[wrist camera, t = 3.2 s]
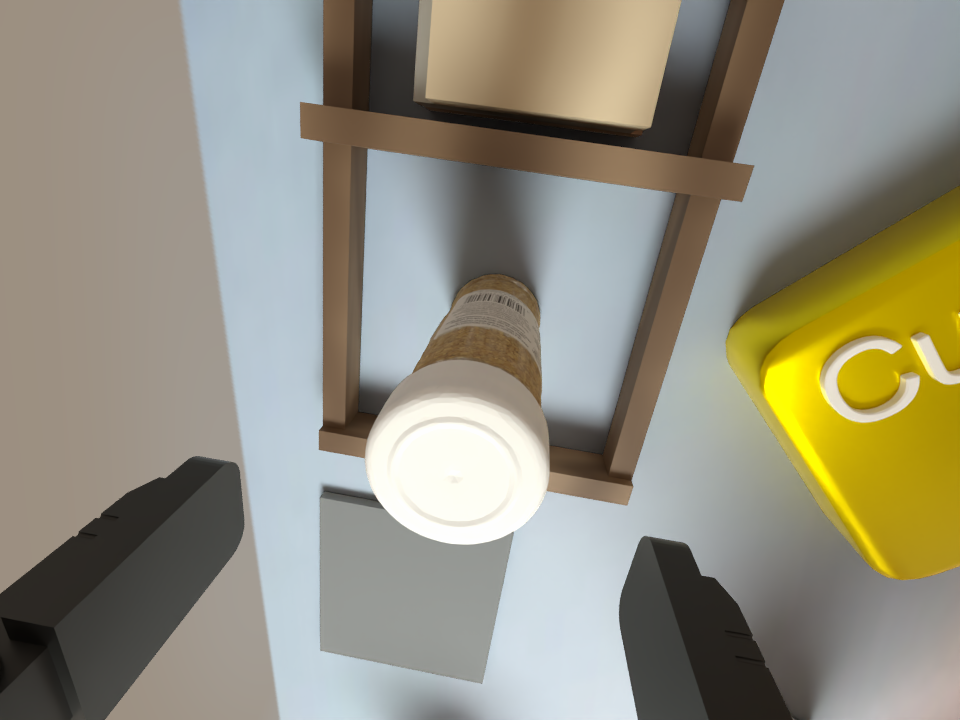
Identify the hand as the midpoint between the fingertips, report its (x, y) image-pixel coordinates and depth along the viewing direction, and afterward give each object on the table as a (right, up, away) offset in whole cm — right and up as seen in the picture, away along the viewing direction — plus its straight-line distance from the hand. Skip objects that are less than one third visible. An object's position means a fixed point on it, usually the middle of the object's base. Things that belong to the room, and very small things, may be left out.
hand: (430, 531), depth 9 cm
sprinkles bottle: (+2, +6, +14) cm, 16 cm away
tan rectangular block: (+4, +16, +10) cm, 19 cm away
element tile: (+23, +3, +13) cm, 26 cm away
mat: (-4, -12, +22) cm, 25 cm away
